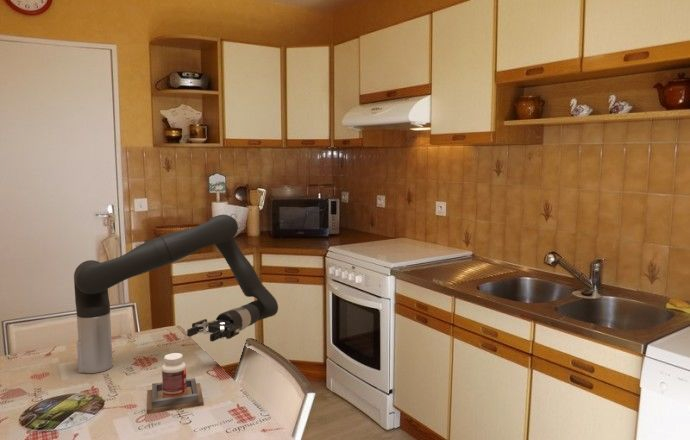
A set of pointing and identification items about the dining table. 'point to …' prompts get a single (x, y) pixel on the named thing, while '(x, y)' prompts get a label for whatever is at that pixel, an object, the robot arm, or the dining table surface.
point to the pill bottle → (174, 376)
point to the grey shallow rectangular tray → (174, 398)
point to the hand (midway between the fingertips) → (199, 335)
